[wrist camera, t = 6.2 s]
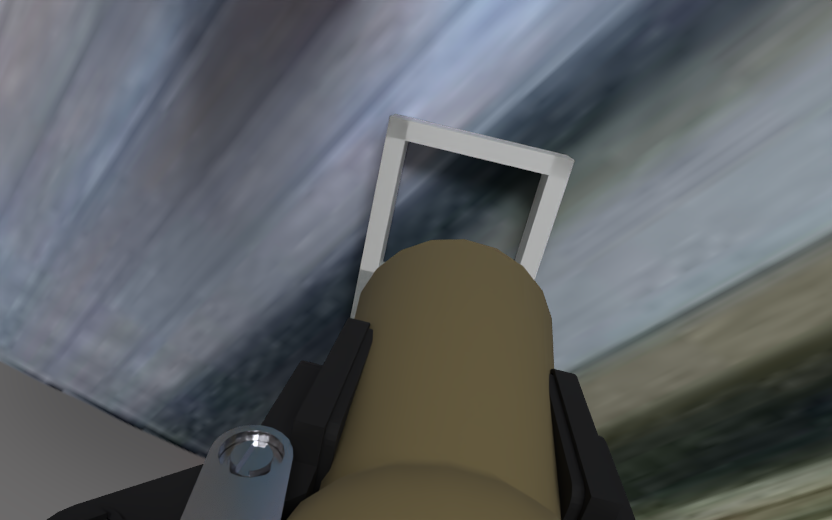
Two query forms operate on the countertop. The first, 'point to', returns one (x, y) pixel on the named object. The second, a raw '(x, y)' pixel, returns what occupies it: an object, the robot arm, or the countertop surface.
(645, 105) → the countertop surface
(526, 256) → the socket frame
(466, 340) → the cork
